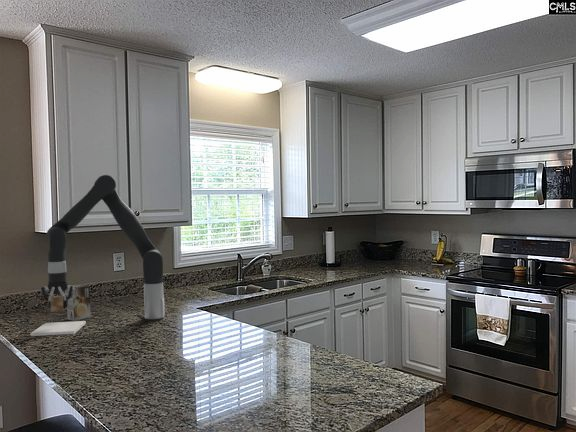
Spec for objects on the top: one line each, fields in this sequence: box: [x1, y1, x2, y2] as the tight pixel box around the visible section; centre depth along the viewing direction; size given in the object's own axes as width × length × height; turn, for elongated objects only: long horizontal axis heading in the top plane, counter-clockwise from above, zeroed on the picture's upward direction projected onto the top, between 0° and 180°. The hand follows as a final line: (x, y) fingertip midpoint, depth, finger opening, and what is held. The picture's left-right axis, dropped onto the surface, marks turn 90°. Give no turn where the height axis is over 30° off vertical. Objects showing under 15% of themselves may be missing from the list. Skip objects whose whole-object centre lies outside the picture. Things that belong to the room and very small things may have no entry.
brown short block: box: [50, 295, 66, 313], centre depth 217 cm, size 5×5×6 cm
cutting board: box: [30, 320, 87, 337], centre depth 217 cm, size 18×18×1 cm
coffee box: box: [65, 284, 92, 322], centre depth 237 cm, size 9×6×16 cm
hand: (58, 308), depth 217 cm, fingers closed on brown short block, 5 cm apart
